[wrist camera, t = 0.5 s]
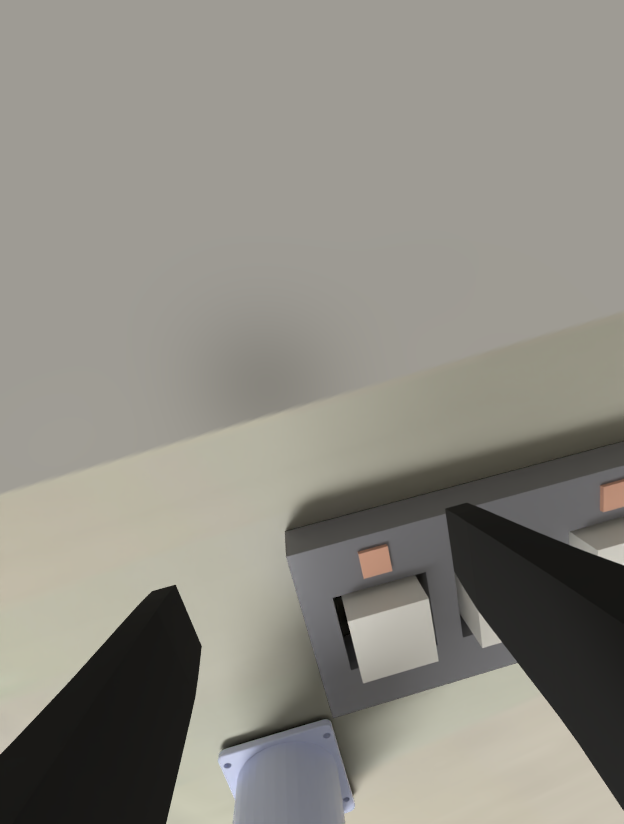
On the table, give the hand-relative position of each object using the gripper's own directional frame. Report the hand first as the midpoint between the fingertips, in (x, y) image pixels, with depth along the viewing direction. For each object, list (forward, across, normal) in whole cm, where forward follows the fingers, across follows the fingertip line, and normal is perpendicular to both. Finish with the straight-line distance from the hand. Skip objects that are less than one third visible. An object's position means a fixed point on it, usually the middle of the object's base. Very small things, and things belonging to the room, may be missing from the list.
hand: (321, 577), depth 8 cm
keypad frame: (+10, -10, +11) cm, 17 cm away
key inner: (+10, -2, +11) cm, 15 cm away
